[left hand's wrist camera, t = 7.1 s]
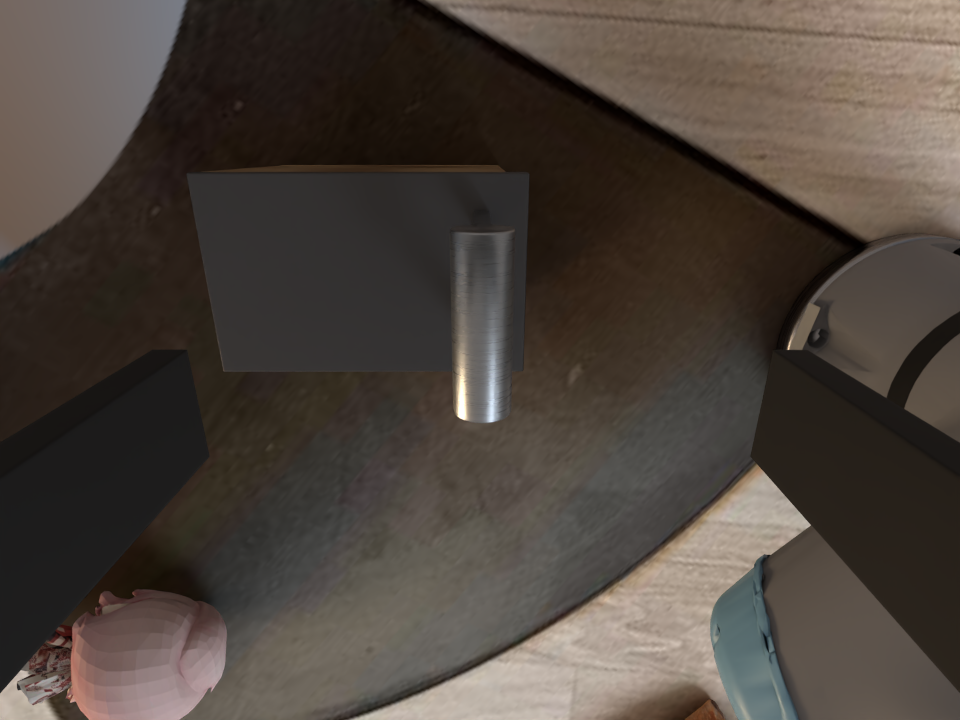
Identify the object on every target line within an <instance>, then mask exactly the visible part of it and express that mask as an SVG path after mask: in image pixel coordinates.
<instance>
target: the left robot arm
mask: <svg viewBox="0 0 960 720" xmlns="http://www.w3.org/2000/svg"><path fill="white" fill-rule="evenodd" d="M208 458H209V452H208V447H207V442H206V438H205V433H204V428H203V424H202V419H201V414H200V409H199V405H198V400H197V395H196V390H195V386H194V381H193V376H192V372H191V367H190V362H189V357H188V353H187V350H152V351H150V352H148V353H147V354H145V355H143V356H142V357H140V358H138V359H137V360H135V361H134V362H132V363H130V364H129V365H127V366H125V367H124V368H122V369H120V370H119V371H117V372H115V373H114V374H112V375H111V376H109V377H107V378H106V379H104V380H102V381H101V382H99V383H97V384H96V385H94V386H92V387H91V388H89V389H88V390H86V391H84V392H83V393H81V394H79V395H78V396H76V397H74V398H73V399H71V400H69V401H68V402H66V403H65V404H63V405H61V406H60V407H58V408H56V409H55V410H53V411H51V412H50V413H48V414H46V415H45V416H43V417H42V418H40V419H38V420H37V421H35V422H33V423H32V424H30V425H28V426H27V427H25V428H23V429H22V430H20V431H19V432H17V433H15V434H14V435H12V436H10V437H9V438H7V439H5V440H4V441H2V442H0V693H1V692H2V691H3V689H4V688H5V687H6V686H7V685H8V684H9V683H10V681H11V680H12V679H13V678H14V677H15V676H16V675H17V674H18V672H19V671H20V670H21V669H22V668H23V667H24V666H25V665H26V663H27V662H28V661H29V660H30V659H31V658H32V657H33V655H34V654H35V653H36V652H37V651H38V650H39V649H40V648H41V646H42V645H43V644H44V643H45V642H46V641H47V640H48V639H49V637H50V636H51V635H52V634H53V633H54V632H55V631H56V629H57V628H58V627H59V626H60V625H61V624H62V623H63V622H64V620H65V619H66V618H67V617H68V616H69V615H70V614H71V613H72V611H73V610H74V609H75V608H76V607H77V606H78V605H79V603H80V602H81V601H82V600H83V599H84V598H85V597H86V596H87V594H88V593H89V592H90V591H91V590H92V589H93V588H94V587H95V585H96V584H97V583H98V582H99V581H100V580H101V579H102V577H103V576H104V575H105V574H106V573H107V572H108V571H109V570H110V568H111V567H112V566H113V565H114V564H115V563H116V562H117V560H118V559H119V558H120V557H121V556H122V555H123V554H124V553H125V551H126V550H127V549H128V548H129V547H130V546H131V545H132V544H133V542H134V541H135V540H136V539H137V538H138V537H139V536H140V534H141V533H142V532H143V531H144V530H145V529H146V528H147V527H148V525H149V524H150V523H151V522H152V521H153V520H154V519H155V518H156V516H157V515H158V514H159V513H160V512H161V511H162V510H163V508H164V507H165V506H166V505H167V504H168V503H169V502H170V501H171V499H172V498H173V497H174V496H175V495H176V494H177V493H178V492H179V490H180V489H181V488H182V487H183V486H184V485H185V484H186V482H187V481H188V480H189V479H190V478H191V477H192V476H193V475H194V473H195V472H196V471H197V470H198V469H199V468H200V467H201V465H202V464H203V463H204V462H205V461H206V460H207V459H208ZM751 458H752V459H753V460H754V461H755V462H756V463H757V464H758V466H759V467H760V468H761V469H762V470H763V471H764V472H765V473H766V475H767V476H768V477H769V478H770V479H771V480H772V481H773V482H774V484H775V485H776V486H777V487H778V488H779V489H780V490H781V492H782V493H783V494H784V495H785V496H786V497H787V498H788V499H789V501H790V502H791V503H792V504H793V505H794V506H795V507H796V508H797V510H798V511H799V512H800V513H801V514H802V515H803V516H804V518H805V519H806V520H807V521H808V522H809V523H810V524H811V526H810V527H808V528H807V529H806V530H804V531H803V532H802V533H800V534H799V535H798V536H796V537H795V538H794V539H792V540H791V541H789V542H788V543H787V544H785V545H784V546H783V547H781V548H780V549H779V550H777V551H776V552H774V553H773V554H772V555H765V554H764V555H763V556H761V557H760V558H759V559H758V560H757V561H756V563H755V565H754V568H753V569H751V570H750V571H749V572H748V573H747V574H746V575H744V576H743V577H742V578H741V579H740V580H739V581H737V582H736V583H735V584H734V585H733V586H732V587H730V588H729V589H728V590H727V591H726V592H725V593H723V594H722V596H721V597H720V598H719V599H718V600H717V602H716V604H715V606H714V608H713V611H712V616H711V621H710V635H711V641H712V646H713V650H714V657H715V661H716V665H717V668H718V671H719V674H720V677H721V680H722V683H723V686H724V688H725V691H726V693H727V696H728V698H729V700H730V703H731V705H732V707H733V709H734V712H735V714H736V716H737V718H738V720H960V240H959V239H953V238H948V237H943V236H937V235H930V234H903V235H896V236H891V237H887V238H883V239H879V240H876V241H873V242H870V243H868V244H866V245H863V246H861V247H859V248H857V249H855V250H853V251H851V252H849V253H847V254H846V255H844V256H842V257H841V258H839V259H838V260H836V261H835V262H833V263H832V264H831V265H830V266H828V267H827V268H826V269H824V270H823V271H822V272H821V273H820V274H819V275H818V276H817V277H816V278H815V279H814V280H813V281H812V282H811V283H810V284H809V285H808V286H807V287H806V288H805V290H804V291H803V292H802V293H801V295H800V296H799V297H798V299H797V300H796V302H795V303H794V305H793V307H792V308H791V310H790V312H789V314H788V315H787V318H786V320H785V322H784V324H783V327H782V330H781V333H780V336H779V340H778V344H777V350H773V353H772V357H771V362H770V367H769V372H768V376H767V381H766V386H765V390H764V395H763V400H762V405H761V409H760V414H759V419H758V424H757V428H756V433H755V438H754V442H753V447H752V452H751Z"/></svg>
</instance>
